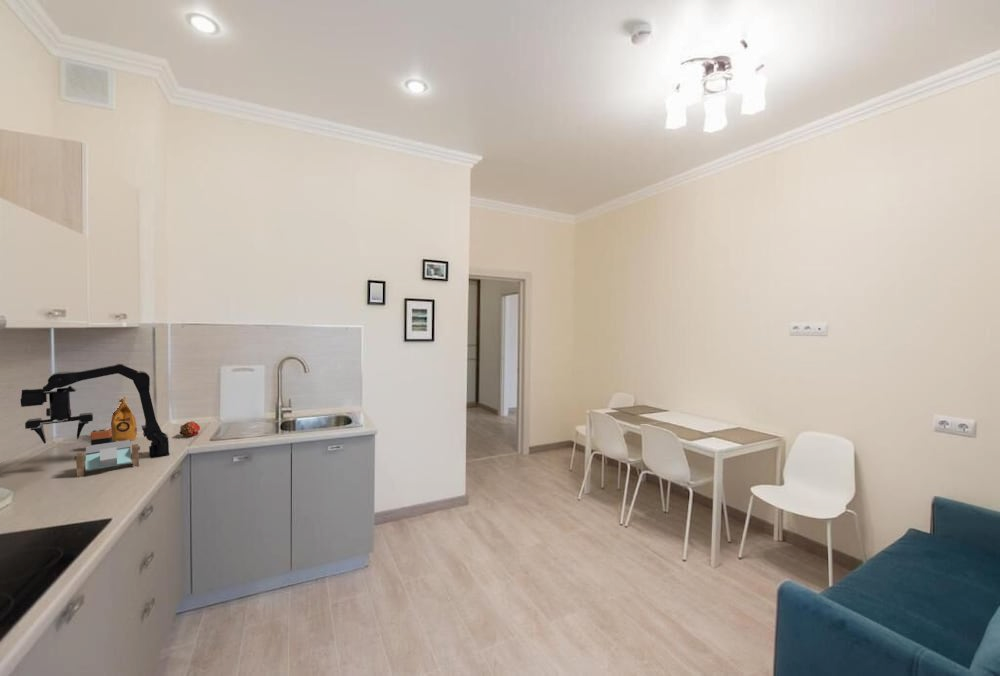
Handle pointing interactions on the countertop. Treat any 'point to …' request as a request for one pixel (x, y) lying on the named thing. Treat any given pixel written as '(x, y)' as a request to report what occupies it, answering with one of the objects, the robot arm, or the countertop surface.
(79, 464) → the trapdoor frame
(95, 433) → the battery
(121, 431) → the coffee package
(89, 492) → the countertop surface
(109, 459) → the grey cube
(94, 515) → the countertop surface
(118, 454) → the trapdoor
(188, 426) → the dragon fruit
